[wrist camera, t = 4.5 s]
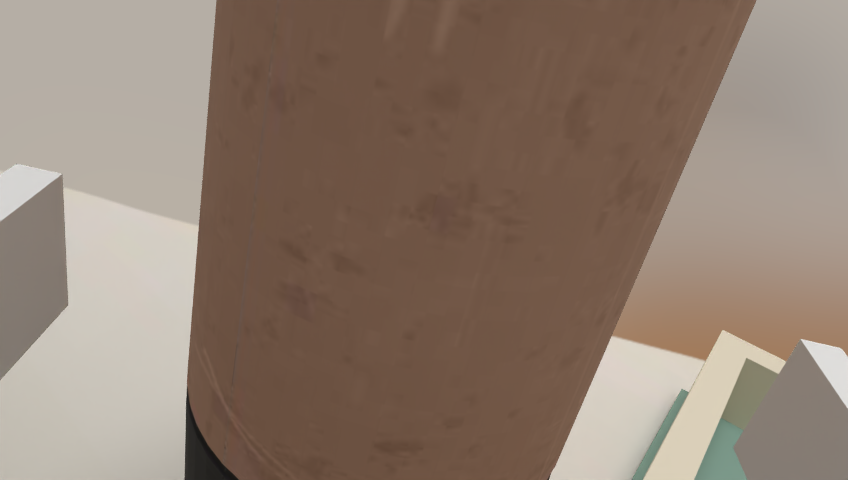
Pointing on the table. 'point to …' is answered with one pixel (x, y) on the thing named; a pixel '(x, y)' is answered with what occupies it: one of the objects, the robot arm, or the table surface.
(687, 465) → the rectangular tray
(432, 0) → the travel mug
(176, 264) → the table surface
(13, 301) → the robot arm
